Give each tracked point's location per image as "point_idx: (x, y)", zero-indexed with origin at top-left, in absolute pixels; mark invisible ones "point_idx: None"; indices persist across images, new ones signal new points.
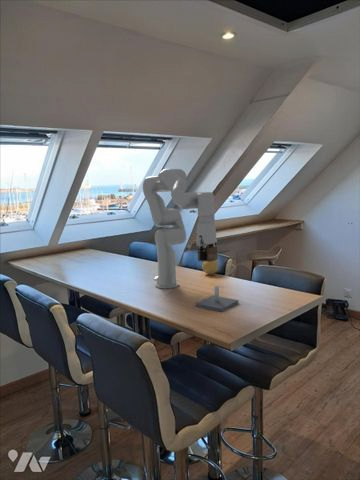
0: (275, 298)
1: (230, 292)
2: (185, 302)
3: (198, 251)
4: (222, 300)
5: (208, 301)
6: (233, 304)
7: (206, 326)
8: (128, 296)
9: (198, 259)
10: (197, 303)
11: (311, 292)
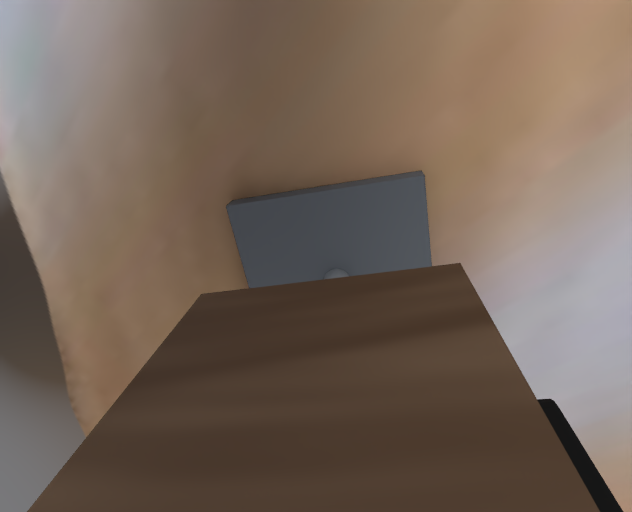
0: (628, 426)
1: (627, 173)
2: (235, 91)
3: (104, 444)
4: None
5: (305, 242)
6: None
7: (120, 389)
8: None
9: (194, 312)
10: (232, 218)
11: None
